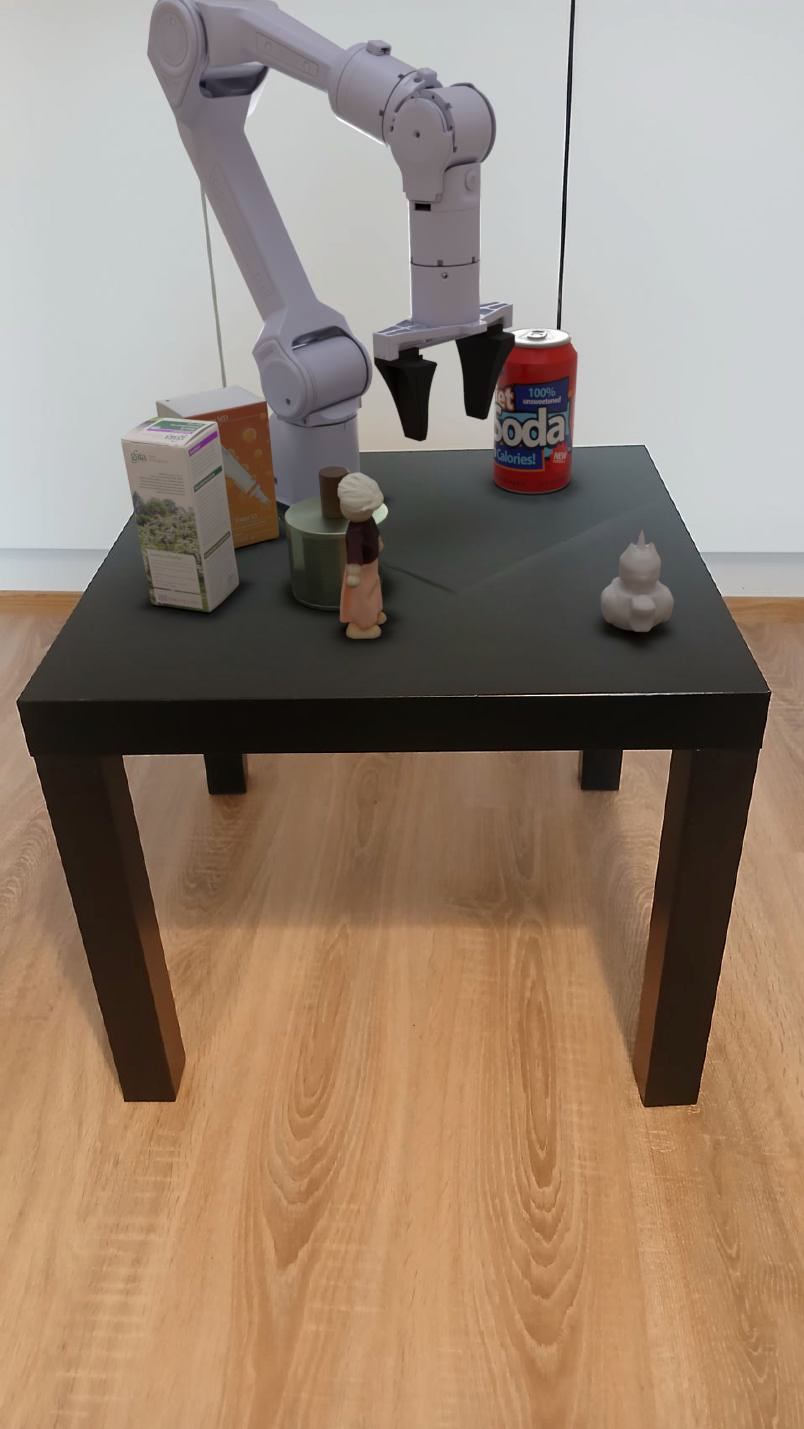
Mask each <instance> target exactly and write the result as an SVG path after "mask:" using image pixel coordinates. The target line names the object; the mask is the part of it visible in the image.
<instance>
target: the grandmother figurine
mask: <svg viewBox="0 0 804 1429" xmlns="http://www.w3.org/2000/svg"><path fill="white" fill-rule="evenodd" d="M338 497H339V498H340V508H341V512H342V514H343V515H344V516H345V518H346V519H348V520H350V521H349V524H348V528H347V531H346V535H345V541H346V550H347V563H346V567H345V572H344V580H343V586H342V592H341V603H340V611H339V622H340V623H343V624H346V623H348V625H347V628H346V632H345V634H346V637H348V639H349V638H350V639H353V640H363V639H365V640H366V639H367V640H368V639H376V638H378V637H380V636H381V635H382V630H381V628H380V626H379V625H382V624H385V623H386V621H387V616H386V614H385V613H384V612H382V610H383V608H384V606H383V595H382V593H381V588H380V579H379V575H378V555H379V552H381V551H382V552H383V550H384V543H383V542H382V536H381V537H380V531H379V529H378V527H377V524H376V522H375V519H374V518H373V516H372V514H373V512H374V510H377V509H378V508H380V506H381V505H382V503H383V504H384V495H383V492H382V491H381V489H380V487H379V485H378V482H377V481H376V480H374V479H373V478H370V476H369V475H366V474H364V473H363V472H360V473H359V472H358V473H352V474H348V475H347V476H346V477H344V478H343V479H342V480H341V482H340V483H339V484H338Z"/></svg>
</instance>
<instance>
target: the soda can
mask: <svg viewBox="0 0 804 1429" xmlns="http://www.w3.org/2000/svg"><path fill="white" fill-rule="evenodd" d="M508 332H509V333H513V334H514V335H515V346H514V348H513V349H512V351H511V352H510V354H509V356H508V358H507V360H506V362H505V364H504V366H503V368H502V370H501V373H500V375H499V378H498V381H497V384H496V388H495V391H494V395H493V400H494V401H493V402H494V403H493V454H492V456H493V457H492V458H493V459H492V460H493V461H492V462H493V463H492V470H493V471H492V477H493V481H494V482H495V484H496V485H497V486H498V487H500V488H501V489H503V490H506V491H508V492H511V493H515V494H522V495H543V494H544V495H545V494H550V493H554V492H557V491H560V490H561V489H564V488H565V487H566V486H567V485H568V484H569V483H570V481H571V478H572V461H573V444H574V428H575V413H576V412H575V410H576V397H577V396H576V394H577V379H578V378H577V377H578V362H579V360H578V359H579V354H578V351H577V349H576V348H575V346H574V344H573V343H572V334H571V332H568V331H566V330H562V329H557V328H549V327H526V328H518V329H515V330H514V329H513V330H510V331H508Z"/></svg>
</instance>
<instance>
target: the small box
mask: <svg viewBox="0 0 804 1429" xmlns="http://www.w3.org/2000/svg"><path fill="white" fill-rule="evenodd" d="M155 407H156V413H157V417H163V418H176V419H188V420H200V421H212V422H217V424H218V429H219V436H220V443H221V450H222V458H223V466H224V475H225V483H226V491H227V500H228V508H229V515H230V523H231V530H232V538H233V545H234V549H237V548H242V547H245V546H248V545H253V544H257V543H261V542H264V541H268V540H274V539H278V538H279V537H280V529H279V519H278V518H279V516H278V507H277V501H276V494H275V483H274V472H273V462H272V450H271V440H270V429H269V418H270V417H269V408H268V403H267V401H266V399H265V398H263V397H262V396H259V395H258V394H255V393H253V392H252V391H250V390H247V389H245V388H244V387H243V386H240V385H238V384H234V385H229V386H225V387H219V388H215V389H210V390H209V389H208V390H202V391H197V392H193V393H192V392H191V393H188V394H185V395H181V396H176V397H175V396H174V397H171V398H165V399H160V400H159V399H158V400H156V401H155Z"/></svg>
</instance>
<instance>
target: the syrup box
mask: <svg viewBox="0 0 804 1429" xmlns="http://www.w3.org/2000/svg"><path fill="white" fill-rule="evenodd" d="M120 440H121V441H120V442H121V443H120V444H121V448H122V454H123V460H124V464H125V469H126V474H127V481H128V486H129V492H130V496H131V501H132V505H133V506H132V507H133V512H134V518H135V523H136V528H137V534H138V539H139V544H140V550H141V555H142V560H143V566H144V571H145V576H146V581H147V587H148V592H149V598H150V603H151V605H153V606H154V605H155V606H162V607H168V608H169V607H170V608H174V609H175V608H176V609H181V610H182V609H183V610H189V611H196V612H202V613H203V612H204V613H211V612H212V611H214V610H215V609H216V608H217V607H218V606H219V605H221V604H222V603H223V602H224V601H225V600H226V599H227V598H228V597H229V596H230V595H231V594H232V593H233V592H234V591H235V590H236V589H237V588H238V587H239V585H240V579H239V571H238V564H237V560H236V554H235V553H236V552H235V548H234V545H233V538H232V530H231V523H230V515H229V508H228V500H227V491H226V483H225V475H224V466H223V458H222V450H221V443H220V436H219V429H218V424H217V422H212V421H200V420H188V419H176V418H163V417H158V416H155V417H152V418H149V419H148V420H146V421H143V422H142V423H140V424H138V425H137V426H136V427H134V428H132V429H131V430H130V431H129V432H127V433H126V434H125V435H123V436H122V437H120Z"/></svg>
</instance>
